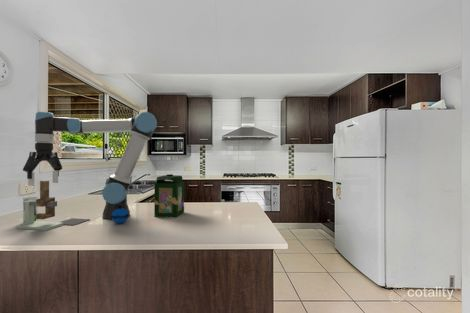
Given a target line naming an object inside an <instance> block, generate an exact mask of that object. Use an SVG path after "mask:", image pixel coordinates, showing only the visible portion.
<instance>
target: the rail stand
mask: <svg viewBox="0 0 470 313" xmlns="http://www.w3.org/2000/svg"><path fill="white" fill-rule="evenodd" d="M34 206H36V201H31V200H30V201H25V224H23V223H22V224H19V225H16V229H22V230H35V231H37V230H38V231H49V230H52V229H56V228H58V227H62V226H65V225H64V223H60V222H61V221H59V222H58V221H57V222H56V221H40V220H38V221H34ZM46 206H52V207H55V208H56V207H58V201H57V200H55V201H54V202H46Z"/></svg>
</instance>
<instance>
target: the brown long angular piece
mask: <svg viewBox="0 0 470 313" xmlns="http://www.w3.org/2000/svg"><path fill="white" fill-rule="evenodd" d="M54 201H56V198H55V197H53V196H50V181H49V180H39V198H38V199H36V206H38V208H39V207H41V208H44V207H45V210H44V211H45V212H44V213H43V212H42V213H41V212H38V214H36V219H38V220H46V219H50V218H53V217H55V216H56V207H52V206H46V202H54Z"/></svg>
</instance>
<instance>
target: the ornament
mask: <svg viewBox="0 0 470 313" xmlns="http://www.w3.org/2000/svg"><path fill="white" fill-rule="evenodd" d="M121 207H122V206H121V205H119V208H117V209H115V210H114V211H113V213H112V215H111V218H112V219H111V220H112V221H113V222H114V223H115V224H119V225H120V224H123V223H125V222H126V221H127V220H128V218H129V217H130V216H129V213H128V212H127V210H126V209H124V208H121Z"/></svg>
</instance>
